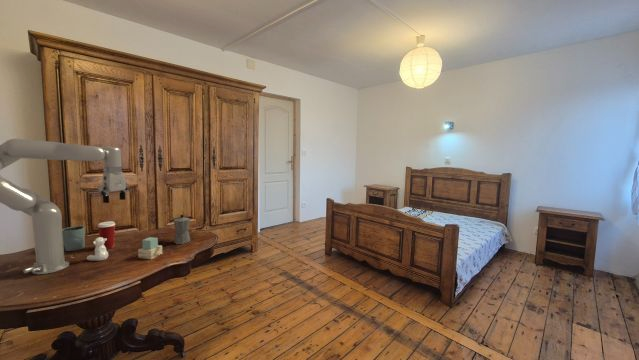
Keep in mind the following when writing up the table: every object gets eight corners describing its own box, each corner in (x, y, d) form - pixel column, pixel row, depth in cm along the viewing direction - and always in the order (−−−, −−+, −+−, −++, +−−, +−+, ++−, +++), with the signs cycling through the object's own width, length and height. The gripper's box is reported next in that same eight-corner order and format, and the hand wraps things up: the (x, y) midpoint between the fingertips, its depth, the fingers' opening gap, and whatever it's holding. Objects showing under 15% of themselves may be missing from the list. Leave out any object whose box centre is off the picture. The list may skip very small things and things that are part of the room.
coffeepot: (190, 244, 165) (190, 216, 163) (173, 246, 161) (172, 217, 159) (190, 237, 179) (189, 211, 177) (174, 238, 174) (173, 212, 172)
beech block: (151, 259, 142) (151, 250, 141) (138, 258, 143) (137, 249, 143) (162, 254, 150) (162, 245, 149) (149, 252, 151) (149, 244, 150)
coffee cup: (120, 245, 160) (118, 221, 158) (108, 250, 152) (106, 225, 150) (107, 244, 161) (106, 220, 159) (94, 249, 153) (93, 224, 151)
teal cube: (150, 249, 143) (150, 240, 142) (142, 248, 144) (142, 240, 143) (157, 246, 148) (157, 237, 147) (150, 245, 149) (149, 237, 148)
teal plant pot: (77, 251, 150) (76, 230, 148) (57, 251, 148) (55, 231, 147) (90, 244, 160) (89, 225, 158) (71, 245, 158) (70, 225, 157)
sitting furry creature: (107, 254, 147) (106, 233, 146) (115, 257, 143) (114, 236, 142) (86, 260, 139) (84, 238, 137) (93, 263, 135) (92, 241, 133)
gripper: (103, 171, 133) (105, 204, 135) (132, 169, 150) (134, 198, 152) (91, 170, 134) (93, 203, 136) (121, 168, 151) (122, 198, 153)
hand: (114, 201), depth 144 cm, fingers open, 9 cm apart
